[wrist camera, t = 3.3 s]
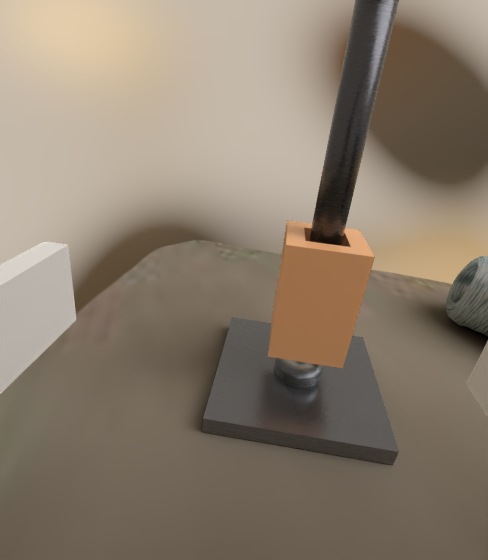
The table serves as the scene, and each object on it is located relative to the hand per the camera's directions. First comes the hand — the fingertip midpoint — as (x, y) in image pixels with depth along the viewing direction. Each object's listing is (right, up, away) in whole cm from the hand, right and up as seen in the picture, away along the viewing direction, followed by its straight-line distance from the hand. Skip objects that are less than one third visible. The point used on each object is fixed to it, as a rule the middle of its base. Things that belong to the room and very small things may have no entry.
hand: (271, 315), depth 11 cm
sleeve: (+4, -3, +15) cm, 16 cm away
